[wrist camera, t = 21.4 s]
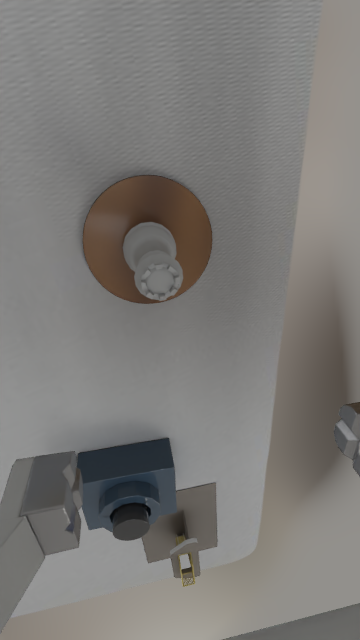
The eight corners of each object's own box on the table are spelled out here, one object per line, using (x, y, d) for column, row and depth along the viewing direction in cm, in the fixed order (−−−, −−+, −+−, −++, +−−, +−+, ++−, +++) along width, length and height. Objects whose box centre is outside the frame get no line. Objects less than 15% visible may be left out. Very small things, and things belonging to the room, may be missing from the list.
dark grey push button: (146, 497, 36) (148, 516, 34) (149, 518, 38) (151, 536, 36) (110, 504, 35) (110, 523, 34) (115, 524, 37) (115, 543, 36)
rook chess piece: (172, 273, 29) (190, 314, 22) (121, 270, 28) (124, 313, 21) (177, 222, 27) (199, 250, 20) (123, 218, 26) (126, 246, 19)
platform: (148, 563, 54) (152, 612, 48) (132, 500, 45) (135, 552, 39) (217, 546, 55) (229, 592, 50) (215, 482, 46) (229, 530, 41)
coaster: (211, 171, 26) (213, 171, 25) (210, 295, 31) (211, 297, 31) (71, 178, 24) (70, 179, 24) (94, 307, 30) (94, 310, 29)
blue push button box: (168, 437, 40) (177, 481, 35) (172, 482, 44) (179, 527, 39) (78, 452, 38) (72, 501, 33) (90, 497, 43) (87, 546, 38)
